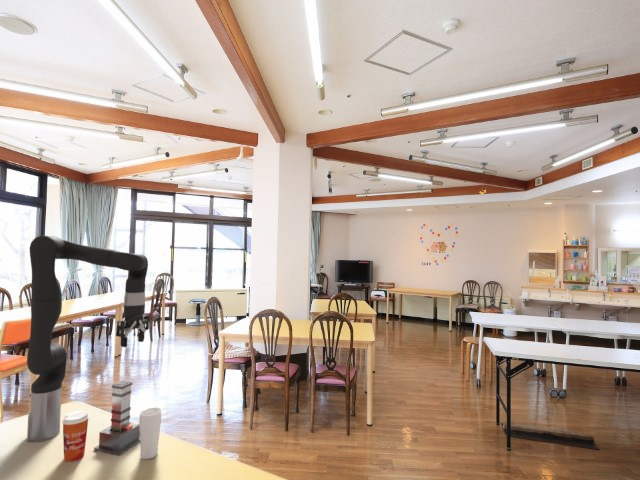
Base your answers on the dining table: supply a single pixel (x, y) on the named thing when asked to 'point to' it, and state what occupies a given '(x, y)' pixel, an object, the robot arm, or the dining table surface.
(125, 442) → the sleeve
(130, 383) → the column
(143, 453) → the drinking glass
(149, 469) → the dining table surface
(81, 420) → the paper cup
